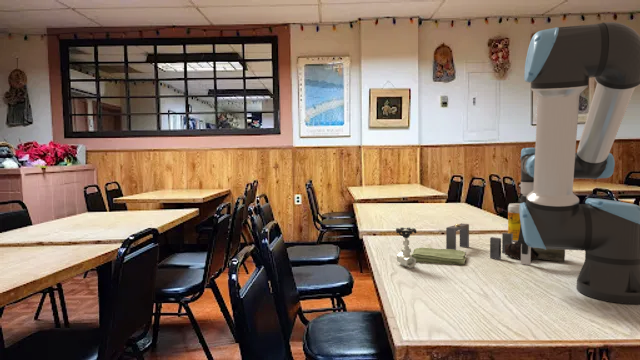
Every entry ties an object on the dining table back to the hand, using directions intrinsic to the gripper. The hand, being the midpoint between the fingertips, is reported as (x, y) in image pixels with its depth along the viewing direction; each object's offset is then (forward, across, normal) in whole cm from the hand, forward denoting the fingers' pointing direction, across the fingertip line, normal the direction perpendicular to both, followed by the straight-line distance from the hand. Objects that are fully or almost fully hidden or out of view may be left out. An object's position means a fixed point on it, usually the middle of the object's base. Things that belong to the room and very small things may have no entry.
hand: (532, 260), depth 133 cm
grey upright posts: (0, 0, -18) cm, 18 cm away
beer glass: (0, -28, -15) cm, 32 cm away
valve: (0, +33, -27) cm, 43 cm away
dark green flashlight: (+1, -2, 0) cm, 2 cm away
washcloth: (+1, +18, -24) cm, 30 cm away
